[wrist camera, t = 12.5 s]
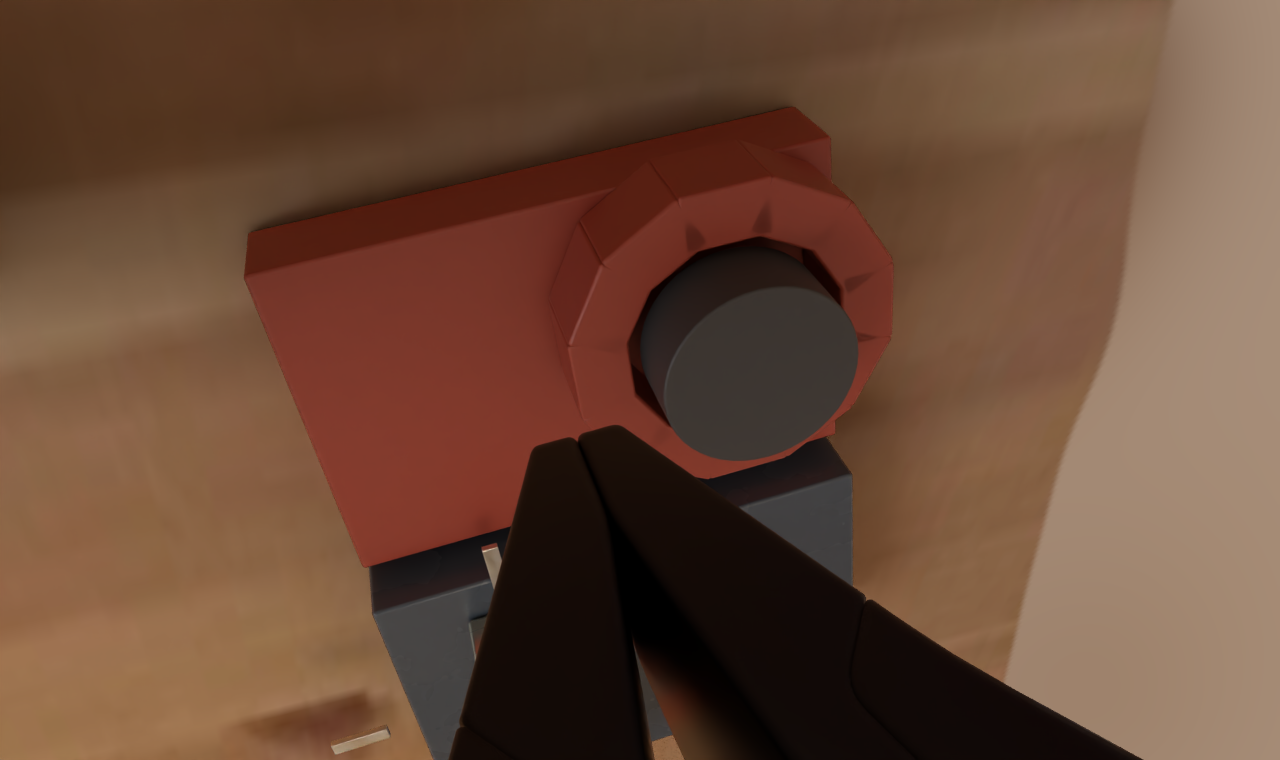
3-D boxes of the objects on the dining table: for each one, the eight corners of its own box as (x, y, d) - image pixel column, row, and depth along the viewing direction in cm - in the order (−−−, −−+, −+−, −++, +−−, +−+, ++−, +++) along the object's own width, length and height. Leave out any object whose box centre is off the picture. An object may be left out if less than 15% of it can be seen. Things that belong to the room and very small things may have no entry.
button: (651, 433, 22) (675, 483, 20) (626, 272, 19) (652, 317, 18) (824, 385, 22) (859, 432, 21) (820, 223, 20) (859, 263, 19)
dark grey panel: (381, 762, 31) (388, 858, 28) (266, 520, 25) (262, 614, 22) (813, 627, 33) (856, 704, 30) (804, 373, 27) (856, 444, 24)
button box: (359, 514, 25) (367, 632, 22) (238, 211, 20) (226, 307, 17) (820, 387, 27) (889, 479, 24) (812, 80, 22) (898, 145, 19)
